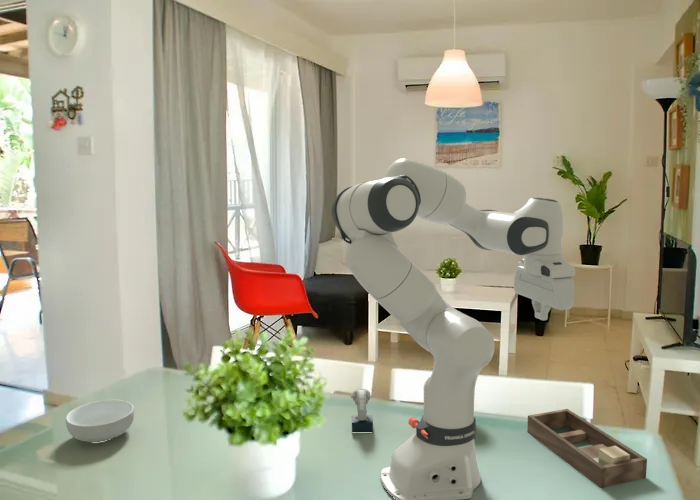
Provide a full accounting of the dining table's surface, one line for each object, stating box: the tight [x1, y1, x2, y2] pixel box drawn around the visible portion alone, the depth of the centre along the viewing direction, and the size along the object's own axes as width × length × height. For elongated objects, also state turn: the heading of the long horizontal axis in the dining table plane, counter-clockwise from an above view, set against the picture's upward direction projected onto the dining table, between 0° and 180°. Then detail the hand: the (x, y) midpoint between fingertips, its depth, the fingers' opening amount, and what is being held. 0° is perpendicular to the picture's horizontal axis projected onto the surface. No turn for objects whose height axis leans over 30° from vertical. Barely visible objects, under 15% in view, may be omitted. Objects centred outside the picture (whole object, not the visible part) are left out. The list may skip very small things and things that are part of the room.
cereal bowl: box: [65, 399, 135, 443], centre depth 162 cm, size 17×17×7 cm
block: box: [598, 446, 630, 466], centre depth 137 cm, size 4×4×4 cm
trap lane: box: [527, 408, 648, 489], centre depth 147 cm, size 12×28×4 cm, turn 17°
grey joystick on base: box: [350, 388, 374, 433], centre depth 162 cm, size 6×8×11 cm
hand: (541, 318), depth 151 cm, fingers closed
